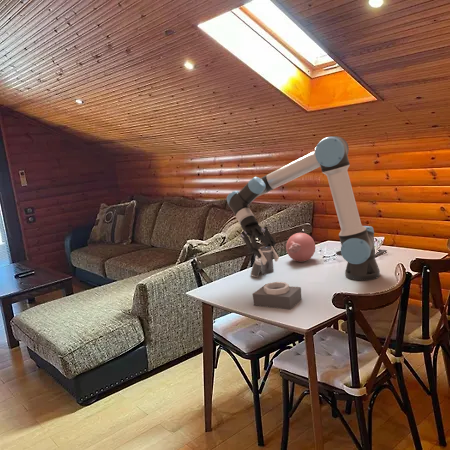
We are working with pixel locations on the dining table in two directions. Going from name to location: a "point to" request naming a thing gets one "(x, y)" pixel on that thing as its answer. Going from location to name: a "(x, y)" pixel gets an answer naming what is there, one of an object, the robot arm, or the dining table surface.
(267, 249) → the lens
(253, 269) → the camera
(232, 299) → the dining table surface
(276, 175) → the robot arm
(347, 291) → the dining table surface
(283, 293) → the grey block socket
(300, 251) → the pink star-marked ball
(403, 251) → the dining table surface
